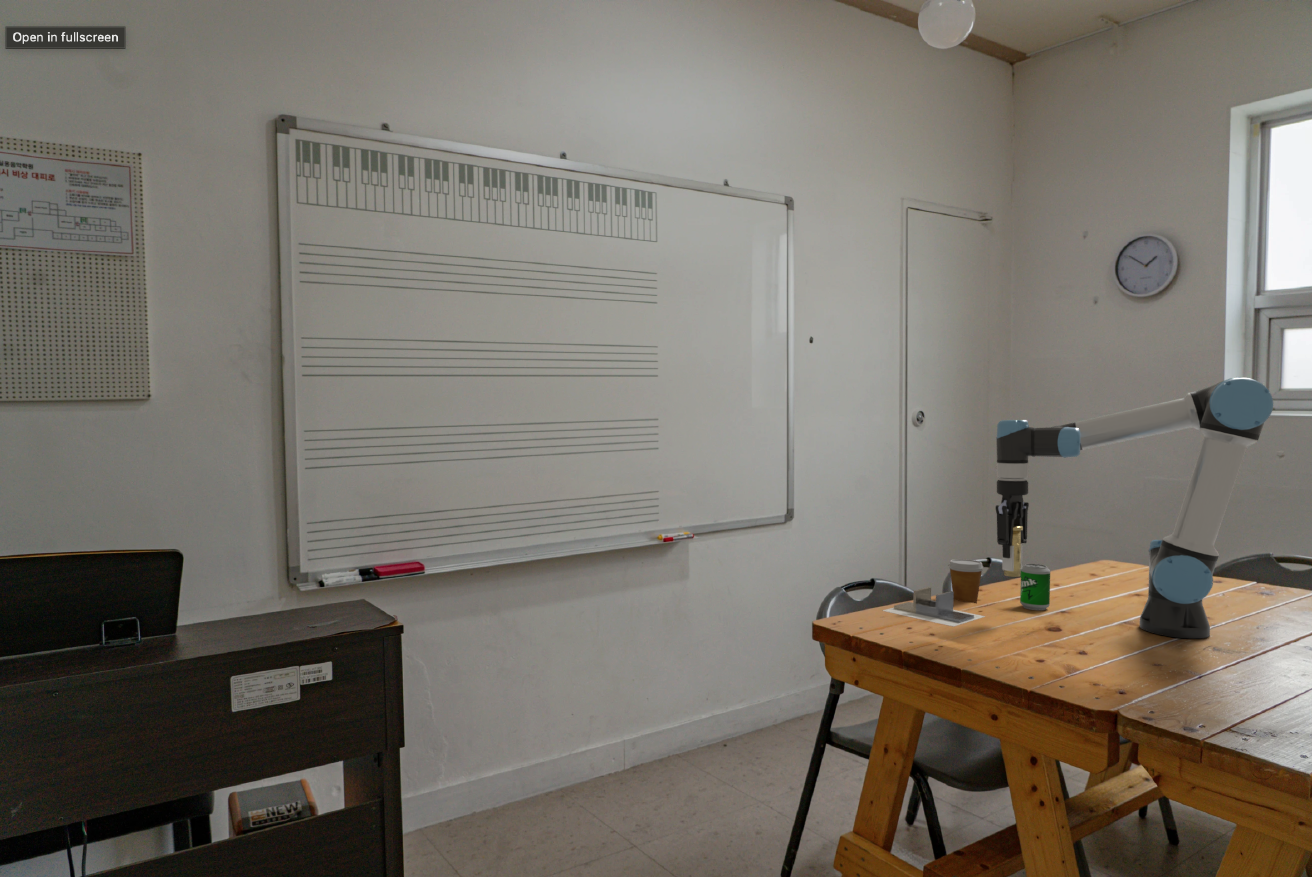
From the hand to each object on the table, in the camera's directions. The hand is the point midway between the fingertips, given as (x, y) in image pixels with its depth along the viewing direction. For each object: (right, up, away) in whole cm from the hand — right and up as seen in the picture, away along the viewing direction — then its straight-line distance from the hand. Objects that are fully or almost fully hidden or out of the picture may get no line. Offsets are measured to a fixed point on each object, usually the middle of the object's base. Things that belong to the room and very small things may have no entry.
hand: (1012, 569), depth 215 cm
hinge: (-18, -13, +6) cm, 23 cm away
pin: (0, -2, 0) cm, 2 cm away
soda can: (+14, -14, +19) cm, 27 cm away
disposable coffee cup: (-3, -14, +24) cm, 28 cm away
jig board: (-18, -14, +6) cm, 24 cm away
